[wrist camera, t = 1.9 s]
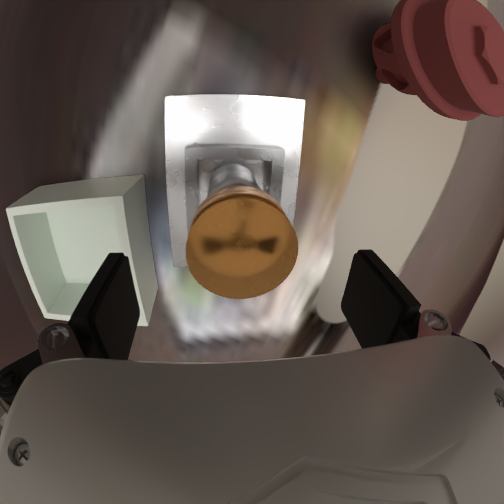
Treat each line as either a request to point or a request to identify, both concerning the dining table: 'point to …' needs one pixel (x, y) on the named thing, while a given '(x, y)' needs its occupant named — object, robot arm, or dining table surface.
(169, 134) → the white base with recess
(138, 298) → the bin
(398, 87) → the mechanical component
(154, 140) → the dining table surface
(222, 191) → the copper-capped metal peg
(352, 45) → the dining table surface
